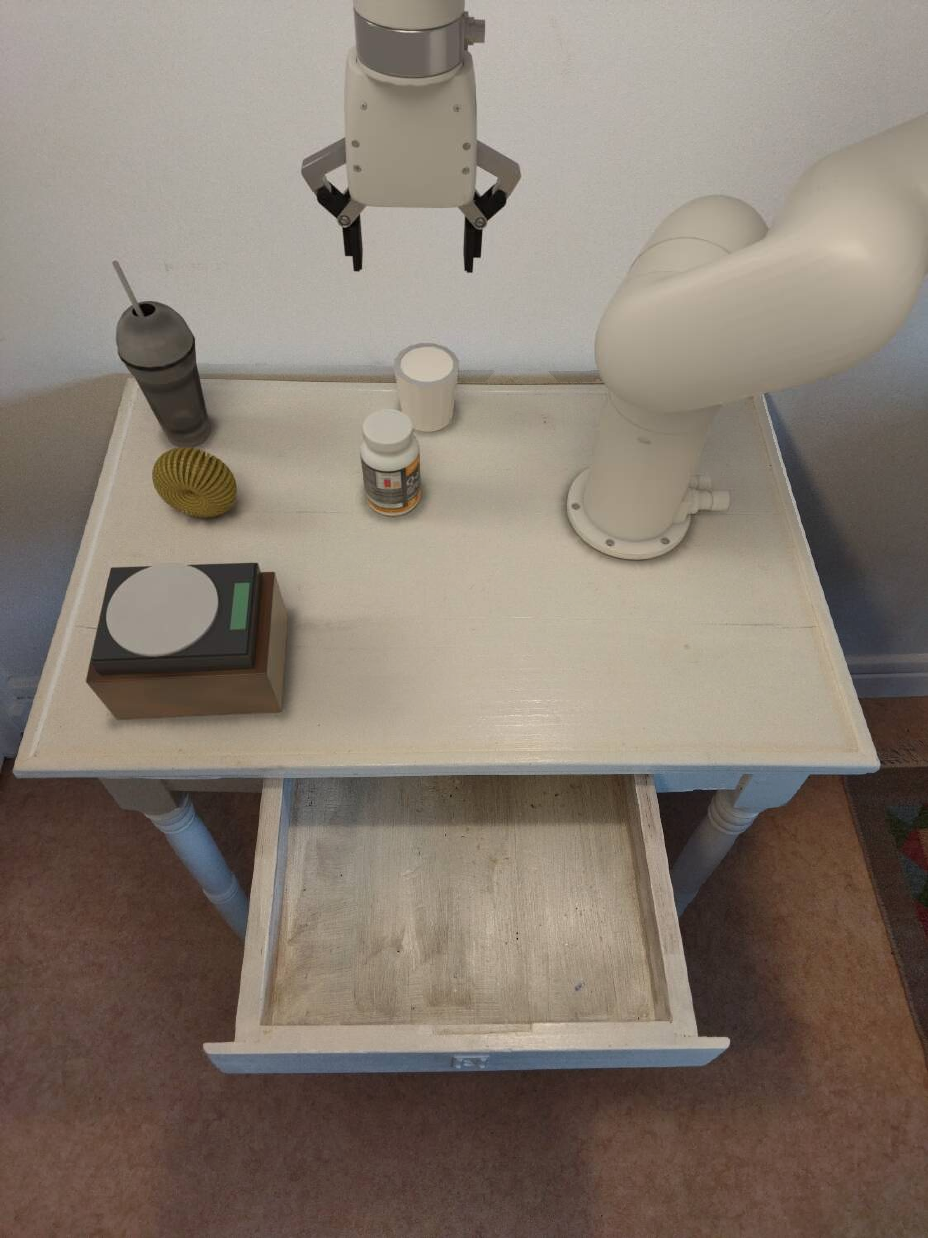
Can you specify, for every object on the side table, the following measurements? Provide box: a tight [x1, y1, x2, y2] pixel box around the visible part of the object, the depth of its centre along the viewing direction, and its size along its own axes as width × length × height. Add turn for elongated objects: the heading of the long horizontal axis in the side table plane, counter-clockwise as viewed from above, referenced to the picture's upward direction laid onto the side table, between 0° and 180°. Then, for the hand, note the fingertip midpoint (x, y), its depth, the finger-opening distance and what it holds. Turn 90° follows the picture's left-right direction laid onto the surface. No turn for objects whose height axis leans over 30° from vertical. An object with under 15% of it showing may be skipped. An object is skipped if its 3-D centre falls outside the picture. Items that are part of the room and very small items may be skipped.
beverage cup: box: [111, 260, 211, 448], centre depth 77 cm, size 7×7×20 cm
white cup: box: [393, 342, 460, 433], centre depth 85 cm, size 7×7×7 cm
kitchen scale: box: [89, 562, 262, 675], centre depth 63 cm, size 12×9×3 cm
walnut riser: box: [85, 571, 289, 720], centre depth 67 cm, size 14×10×7 cm
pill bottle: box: [359, 408, 422, 517], centre depth 77 cm, size 6×6×10 cm
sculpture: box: [151, 447, 238, 519], centre depth 76 cm, size 8×4×8 cm, turn 82°
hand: (413, 262), depth 69 cm, fingers open, 9 cm apart
